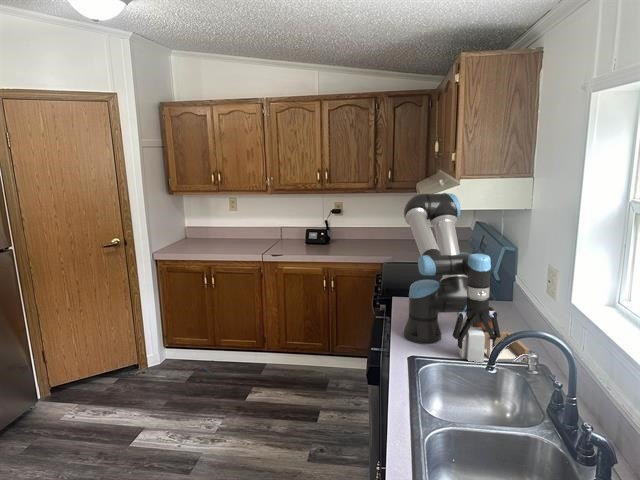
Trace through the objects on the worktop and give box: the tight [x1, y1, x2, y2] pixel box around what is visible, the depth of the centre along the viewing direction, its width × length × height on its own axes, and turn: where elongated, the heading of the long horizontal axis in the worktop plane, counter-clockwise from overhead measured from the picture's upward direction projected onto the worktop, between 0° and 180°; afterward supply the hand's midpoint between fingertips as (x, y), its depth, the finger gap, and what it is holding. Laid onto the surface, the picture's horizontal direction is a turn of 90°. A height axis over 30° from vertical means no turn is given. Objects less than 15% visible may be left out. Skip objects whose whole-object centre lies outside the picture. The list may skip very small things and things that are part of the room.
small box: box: [464, 326, 485, 364], centre depth 156 cm, size 8×6×10 cm
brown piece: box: [483, 331, 530, 364], centre depth 160 cm, size 13×16×5 cm
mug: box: [471, 306, 495, 332], centre depth 178 cm, size 9×12×12 cm
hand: (475, 355), depth 157 cm, fingers open, 9 cm apart
